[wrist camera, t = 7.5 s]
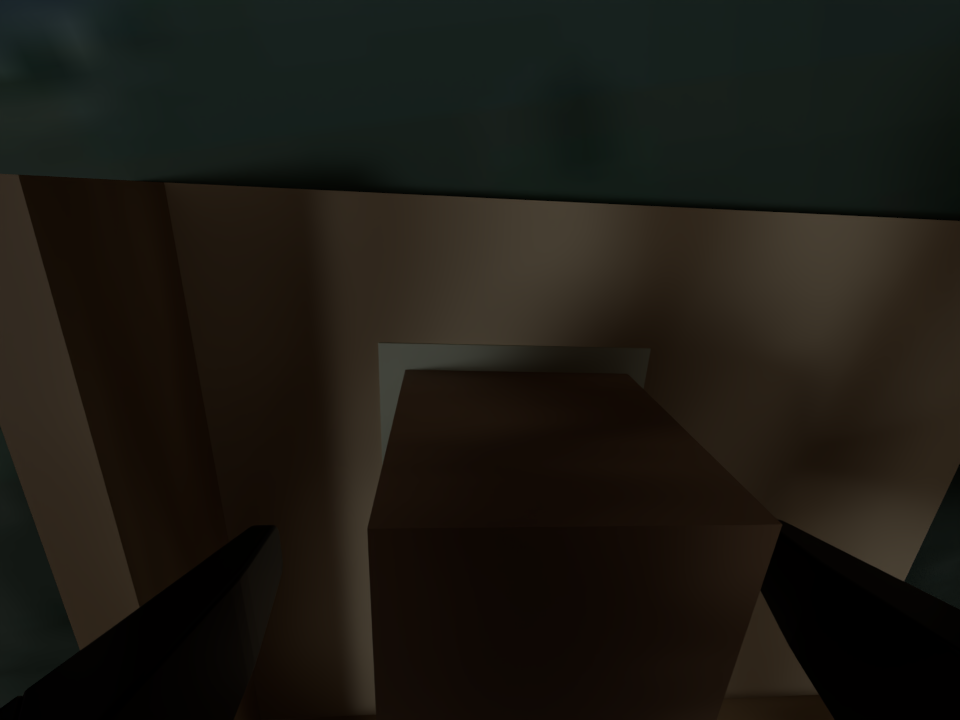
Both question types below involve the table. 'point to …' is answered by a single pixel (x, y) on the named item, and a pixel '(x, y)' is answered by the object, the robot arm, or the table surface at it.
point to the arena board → (444, 346)
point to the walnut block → (555, 554)
